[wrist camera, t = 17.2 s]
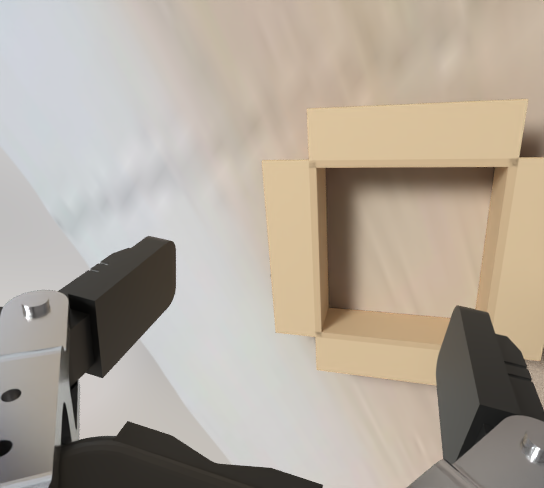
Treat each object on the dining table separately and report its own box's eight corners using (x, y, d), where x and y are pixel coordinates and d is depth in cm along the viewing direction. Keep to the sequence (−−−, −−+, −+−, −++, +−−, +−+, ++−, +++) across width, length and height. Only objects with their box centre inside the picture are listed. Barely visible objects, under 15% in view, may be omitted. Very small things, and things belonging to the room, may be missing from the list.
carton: (272, 104, 38) (257, 111, 34) (573, 90, 32) (597, 96, 28) (288, 339, 48) (278, 365, 44) (520, 364, 42) (532, 397, 38)
